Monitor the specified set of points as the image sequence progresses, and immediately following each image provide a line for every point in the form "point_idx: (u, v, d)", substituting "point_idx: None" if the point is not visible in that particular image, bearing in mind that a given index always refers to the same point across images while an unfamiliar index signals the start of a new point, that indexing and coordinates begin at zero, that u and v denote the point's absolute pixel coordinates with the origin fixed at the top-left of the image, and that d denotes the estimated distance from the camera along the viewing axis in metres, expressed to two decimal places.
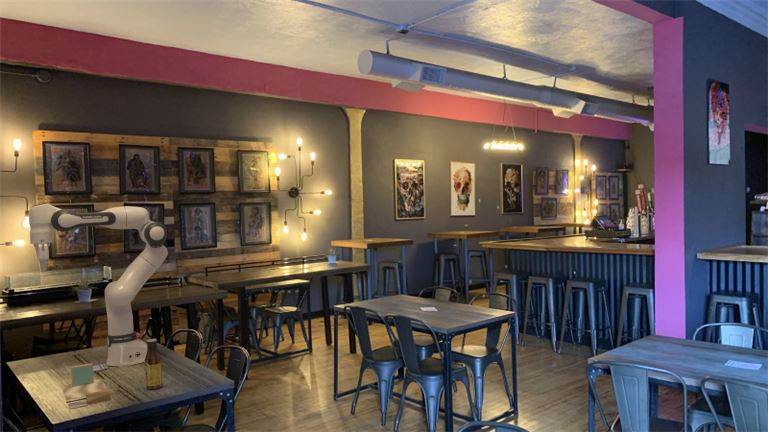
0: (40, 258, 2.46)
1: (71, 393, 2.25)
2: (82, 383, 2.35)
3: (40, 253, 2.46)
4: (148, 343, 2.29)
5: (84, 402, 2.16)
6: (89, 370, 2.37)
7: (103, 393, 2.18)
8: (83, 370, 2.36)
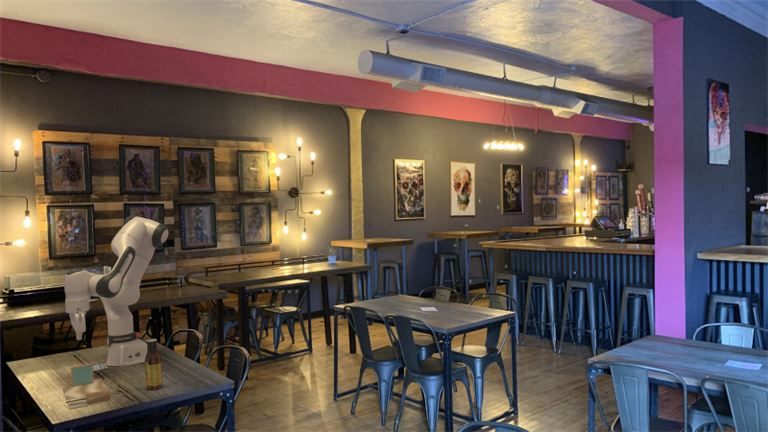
0: (77, 330, 2.32)
1: (71, 393, 2.25)
2: (82, 383, 2.35)
3: (77, 324, 2.32)
4: (148, 343, 2.29)
5: (84, 402, 2.16)
6: (89, 370, 2.37)
7: (103, 393, 2.18)
8: (83, 370, 2.36)
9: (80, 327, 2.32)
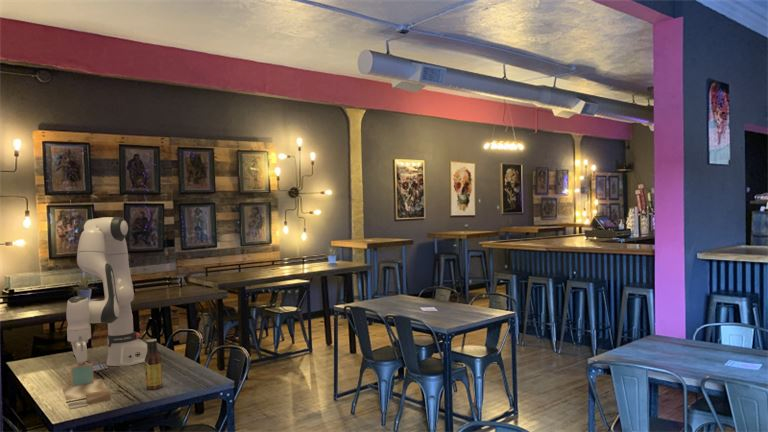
0: (79, 359, 2.29)
1: (71, 393, 2.25)
2: (82, 383, 2.35)
3: (79, 354, 2.29)
4: (148, 343, 2.29)
5: (84, 402, 2.16)
6: (89, 370, 2.37)
7: (103, 393, 2.18)
8: (83, 370, 2.35)
9: (82, 356, 2.29)
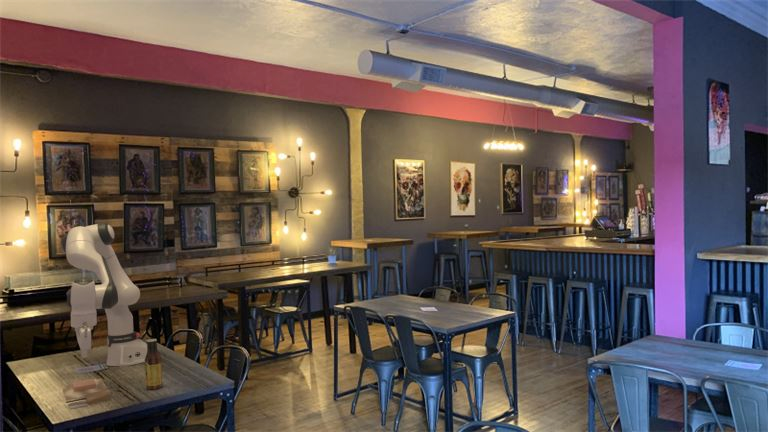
0: (82, 346, 2.08)
1: (71, 393, 2.25)
2: None
3: (82, 340, 2.09)
4: (148, 343, 2.29)
5: (84, 402, 2.16)
6: None
7: (103, 393, 2.18)
8: None
9: (85, 344, 2.09)
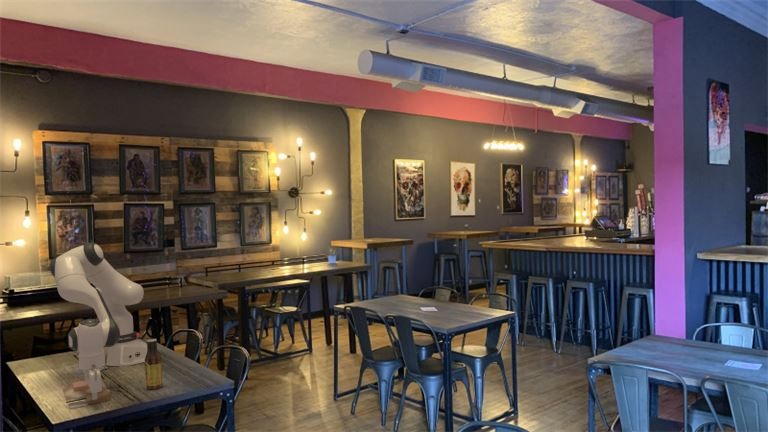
0: (92, 390, 2.08)
1: (71, 393, 2.25)
2: None
3: (92, 384, 2.08)
4: (148, 343, 2.29)
5: (84, 402, 2.16)
6: None
7: (103, 393, 2.18)
8: None
9: (96, 387, 2.09)
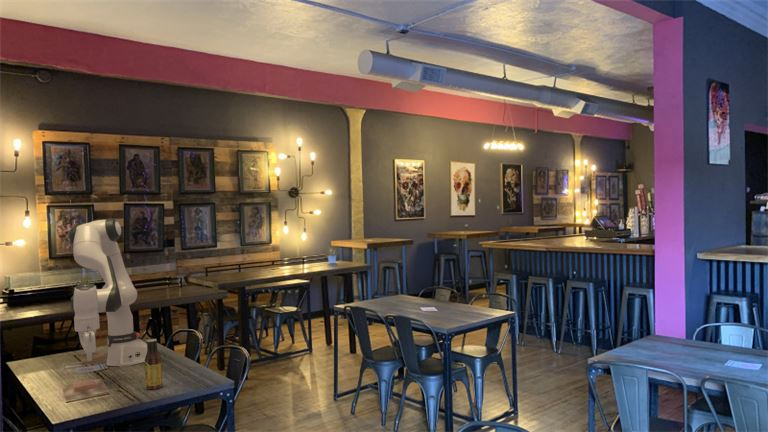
0: (87, 350, 2.16)
1: (71, 393, 2.25)
2: None
3: (87, 344, 2.16)
4: (148, 343, 2.29)
5: (79, 363, 2.24)
6: None
7: (97, 355, 2.26)
8: None
9: (90, 347, 2.17)
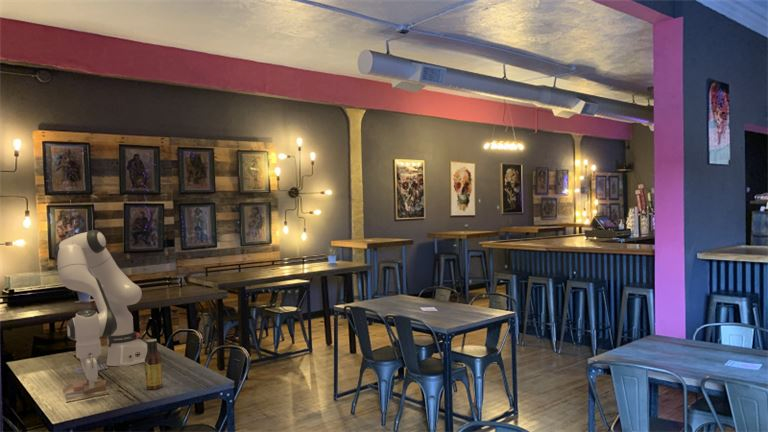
0: (89, 377, 2.16)
1: None
2: None
3: (89, 371, 2.16)
4: (148, 343, 2.29)
5: (81, 392, 2.24)
6: None
7: (99, 383, 2.26)
8: None
9: (92, 374, 2.17)
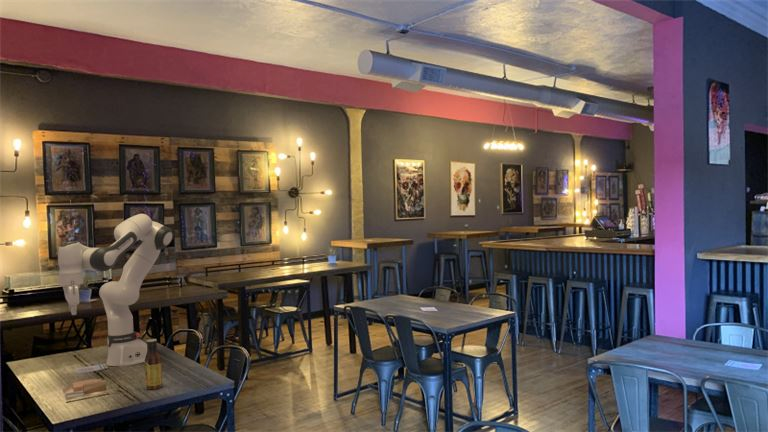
0: (71, 302, 2.28)
1: None
2: None
3: (71, 297, 2.28)
4: (148, 343, 2.29)
5: (81, 392, 2.24)
6: None
7: (99, 383, 2.26)
8: None
9: (74, 299, 2.28)
